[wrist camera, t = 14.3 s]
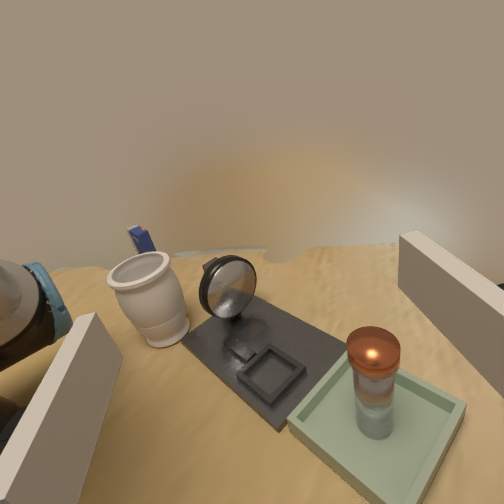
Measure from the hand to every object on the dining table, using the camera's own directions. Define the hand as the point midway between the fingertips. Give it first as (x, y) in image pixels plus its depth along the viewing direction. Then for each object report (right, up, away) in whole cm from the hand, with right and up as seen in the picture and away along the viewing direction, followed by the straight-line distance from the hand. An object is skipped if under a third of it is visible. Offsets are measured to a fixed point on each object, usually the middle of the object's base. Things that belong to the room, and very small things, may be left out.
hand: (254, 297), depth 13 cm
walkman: (-26, -3, +68) cm, 73 cm away
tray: (+14, -19, +23) cm, 33 cm away
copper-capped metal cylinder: (+14, -18, +23) cm, 32 cm away
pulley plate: (+1, -14, +37) cm, 40 cm away
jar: (-16, -13, +45) cm, 50 cm away
